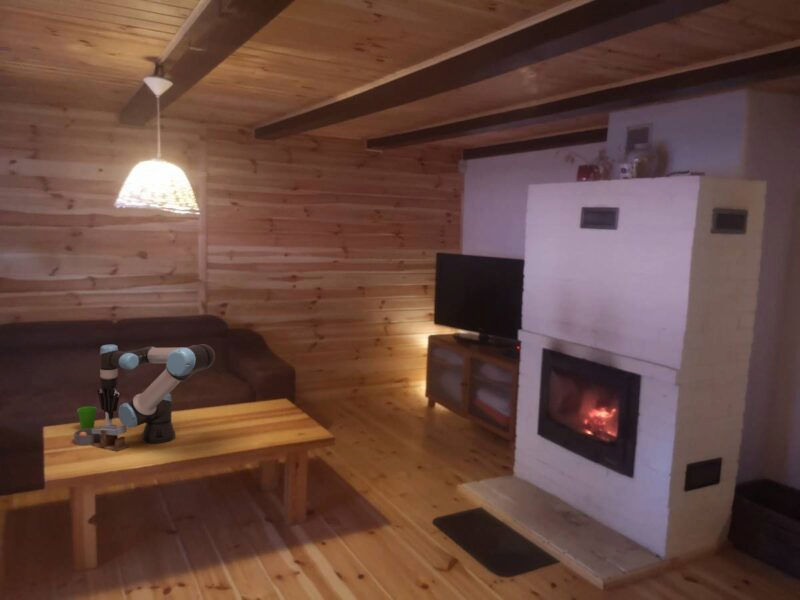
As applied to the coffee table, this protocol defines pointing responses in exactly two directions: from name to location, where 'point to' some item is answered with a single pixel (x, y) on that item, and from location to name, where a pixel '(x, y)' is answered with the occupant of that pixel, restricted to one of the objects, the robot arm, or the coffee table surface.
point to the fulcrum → (111, 442)
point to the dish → (86, 437)
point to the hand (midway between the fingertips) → (108, 424)
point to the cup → (87, 417)
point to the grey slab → (110, 430)
